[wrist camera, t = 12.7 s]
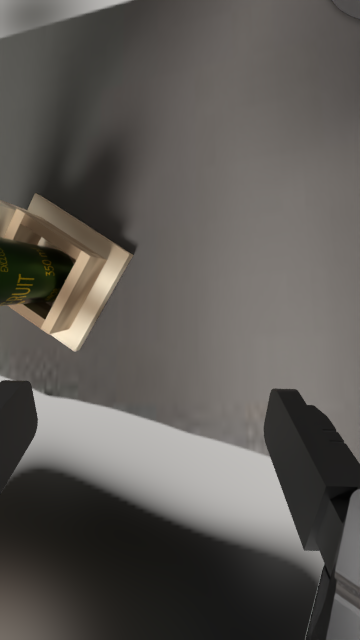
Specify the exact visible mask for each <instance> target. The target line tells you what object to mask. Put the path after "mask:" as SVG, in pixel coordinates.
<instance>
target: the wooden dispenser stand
mask: <svg viewBox="0 0 360 640" xmlns="http://www.w3.org/2000/svg"><path fill="white" fill-rule="evenodd" d="M0 237H2V238H7V239H12V240H16V241H21V242H26V243H30V244H35V245H40V246H44V247H49V248H54V249H57V250H60V251H63V252H64V253H65V254H66V255H68V256H69V257H70V259H71V260H72V262H73V263H74V266H73V268H72V270H71V272H70V273H69V275H68V277H67V279H66V281H65V283H64V285H63V287H62V289H61V291H60V293H59V294H58V296H57V298H56V300H55V301H53V302H40V303H27V304H14V305H8V306H9V307H10V308H12V309H13V310H15V311H16V312H18V313H19V314H20V315H22V316H23V317H25V318H26V319H28V320H29V321H30V322H32V323H33V324H35V325H36V326H38V327H39V328H40V329H42V330H43V331H45V332H46V333H48V334H50V335H52V336H53V337H55V338H56V339H57V340H59V341H60V342H62V343H63V344H65V345H66V346H68V347H69V348H70V349H72V350H73V351H78V350H80V348H81V347H82V345H83V343H84V341H85V340H86V338H87V336H88V334H89V332H90V331H91V329H92V327H93V325H94V324H95V322H96V320H97V318H98V317H99V315H100V313H101V311H102V309H103V308H104V306H105V304H106V302H107V301H108V299H109V297H110V295H111V294H112V292H113V290H114V288H115V286H116V285H117V283H118V281H119V279H120V278H121V276H122V274H123V272H124V271H125V269H126V267H127V265H128V263H129V262H130V260H131V258H132V256H133V255H132V254H131V253H129V252H128V251H126V250H125V249H123V248H121V247H120V246H118V245H117V244H115V243H114V242H112V241H111V240H109V239H107V238H106V237H104V236H103V235H101V234H100V233H98V232H97V231H95V230H93V229H92V228H90V227H89V226H87V225H86V224H84V223H83V222H81V221H79V220H78V219H76V218H75V217H73V216H72V215H70V214H69V213H67V212H65V211H64V210H62V209H61V208H59V207H58V206H56V205H55V204H53V203H51V202H50V201H48V200H47V199H45V198H44V197H42V196H40V195H38V194H36V193H35V195H34V197H33V199H32V201H31V203H30V205H29V207H28V210H25V209H23V208H20V207H17V206H15V205H12V204H9V203H7V202H4V201H1V200H0Z"/></svg>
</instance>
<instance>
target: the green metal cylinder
mask: <svg viewBox="0 0 360 640" xmlns="http://www.w3.org/2000/svg"><path fill="white" fill-rule="evenodd" d="M73 266H74V263H73V262H72V260H71V259H70V257H69V256H68V255H66V254H65V253H64V252H63V251H60V250H57V249H54V248H49V247H44V246H40V245H35V244H30V243H26V242H21V241H16V240H12V239H7V238H2V237H0V306H1V305H14V304H27V303H40V302H53V301H55V300H56V298H57V296H58V294H59V293H60V291H61V289H62V287H63V285H64V283H65V281H66V279H67V277H68V275H69V273H70V272H71V270H72V268H73Z"/></svg>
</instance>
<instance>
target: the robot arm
mask: <svg viewBox="0 0 360 640" xmlns="http://www.w3.org/2000/svg"><path fill="white" fill-rule="evenodd" d="M332 1H333V2H334V4H335V5H336V6H337V7H338V8H339V9H340V10H342V11H343V12H345V13H346V14H347V15H350V16H352V17H355V18H358V19H360V0H332ZM37 421H38V418H37V413H36V407H35V402H34V397H33V391H32V386H31V384H30V382H29V381H10V380H5V381H1V382H0V494H1V492H2V490H3V489H4V487H5V485H6V484H7V482H8V480H9V478H10V477H11V475H12V473H13V472H14V470H15V468H16V467H17V465H18V463H19V462H20V460H21V458H22V456H23V455H24V453H25V451H26V450H27V448H28V446H29V445H30V443H31V441H32V440H33V438H34V436H35V433H36V429H37V423H38V422H37ZM264 438H265V443H266V446H267V449H268V452H269V454H270V457H271V460H272V463H273V465H274V468H275V471H276V474H277V477H278V479H279V482H280V485H281V488H282V490H283V493H284V496H285V499H286V501H287V504H288V507H289V510H290V512H291V515H292V518H293V521H294V524H295V526H296V529H297V532H298V535H299V537H300V540H301V543H302V546H303V549H304V550H310V551H312V550H313V551H320V553H321V555H322V558H323V560H324V563H325V564H324V566H323V569H322V573H321V576H320V581H319V585H318V589H317V593H316V597H315V601H314V605H313V609H312V613H311V617H310V621H309V625H308V629H307V633H306V637H305V640H360V464H359V462H358V461H357V459H356V458H355V456H354V455H353V453H352V452H351V451H350V449H349V448H348V446H347V445H346V444H344V440H343V439H342V437H341V436H340V434H339V433H338V432H336V429H335V427H334V426H333V424H332V423H331V421H330V420H329V418H328V417H327V416H326V415H325V414H323V413H322V412H321V411H320V410H318V409H317V408H316V407H315V406H314V405H306V403H305V401H304V400H303V398H302V397H301V395H300V393H299V392H298V391H297V390H296V389H272V390H271V393H270V397H269V402H268V407H267V412H266V417H265V422H264Z"/></svg>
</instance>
